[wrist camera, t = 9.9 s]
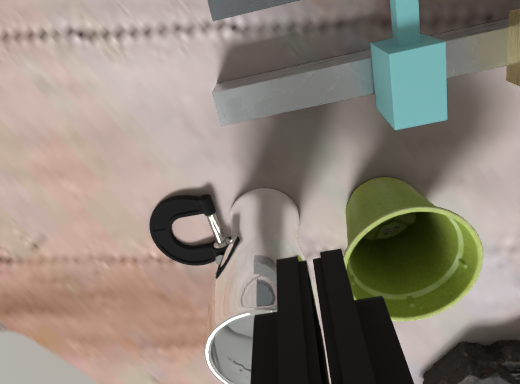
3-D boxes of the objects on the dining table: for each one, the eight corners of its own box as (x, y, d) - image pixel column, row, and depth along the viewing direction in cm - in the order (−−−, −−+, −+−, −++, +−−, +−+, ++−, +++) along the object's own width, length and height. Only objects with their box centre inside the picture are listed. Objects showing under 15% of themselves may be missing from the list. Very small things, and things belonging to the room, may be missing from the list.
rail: (585, 1, 29) (618, 3, 26) (580, 37, 30) (612, 43, 27) (216, 83, 31) (212, 93, 29) (224, 113, 32) (221, 126, 30)
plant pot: (306, 189, 35) (318, 247, 28) (413, 136, 33) (457, 183, 25) (353, 267, 39) (374, 338, 31) (451, 224, 37) (501, 289, 29)
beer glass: (243, 260, 39) (231, 409, 25) (211, 199, 36) (178, 329, 22) (315, 237, 37) (342, 380, 24) (287, 171, 35) (300, 291, 21)
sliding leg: (400, -119, 25) (441, -149, 19) (412, 92, 30) (447, 119, 24) (348, -105, 25) (373, -131, 19) (370, 101, 30) (394, 130, 25)
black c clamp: (138, 202, 37) (130, 217, 34) (215, 183, 36) (212, 197, 33) (195, 326, 43) (192, 345, 41) (262, 312, 42) (262, 331, 40)
